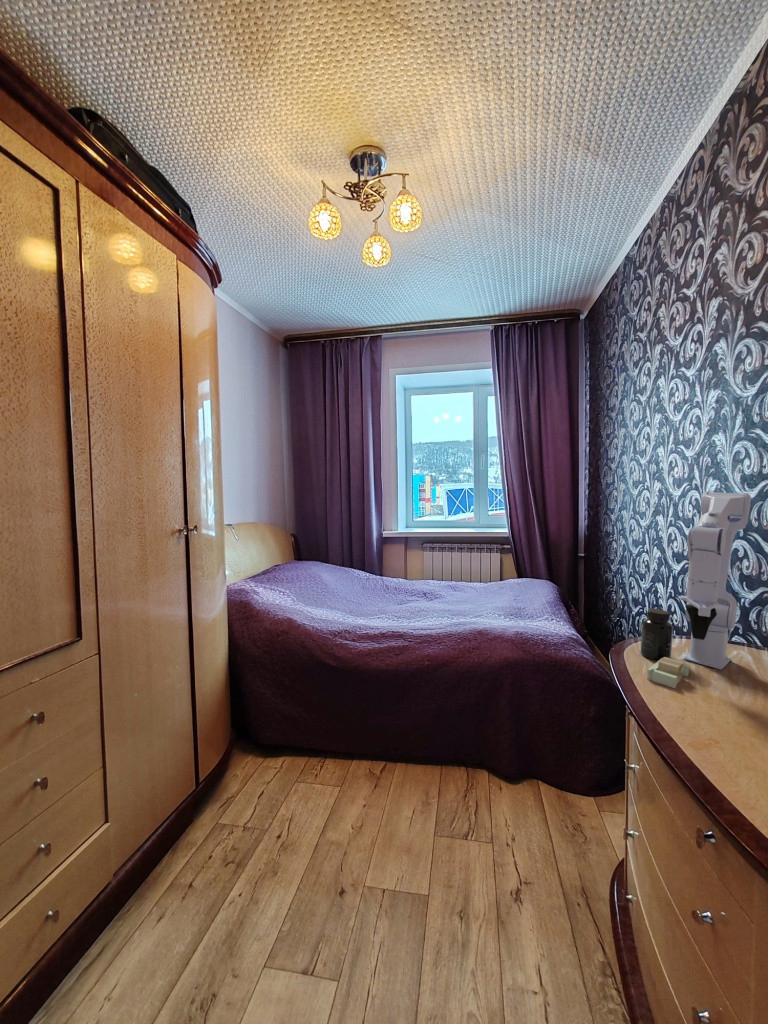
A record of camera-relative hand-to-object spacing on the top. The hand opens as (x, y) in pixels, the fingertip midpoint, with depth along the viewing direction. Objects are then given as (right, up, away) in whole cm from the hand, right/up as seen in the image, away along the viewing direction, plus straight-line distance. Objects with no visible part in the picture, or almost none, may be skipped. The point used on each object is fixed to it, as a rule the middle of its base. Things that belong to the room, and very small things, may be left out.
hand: (698, 638), depth 102 cm
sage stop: (-5, -10, +2) cm, 11 cm away
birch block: (-5, -10, +2) cm, 11 cm away
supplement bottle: (-1, -9, +14) cm, 17 cm away
